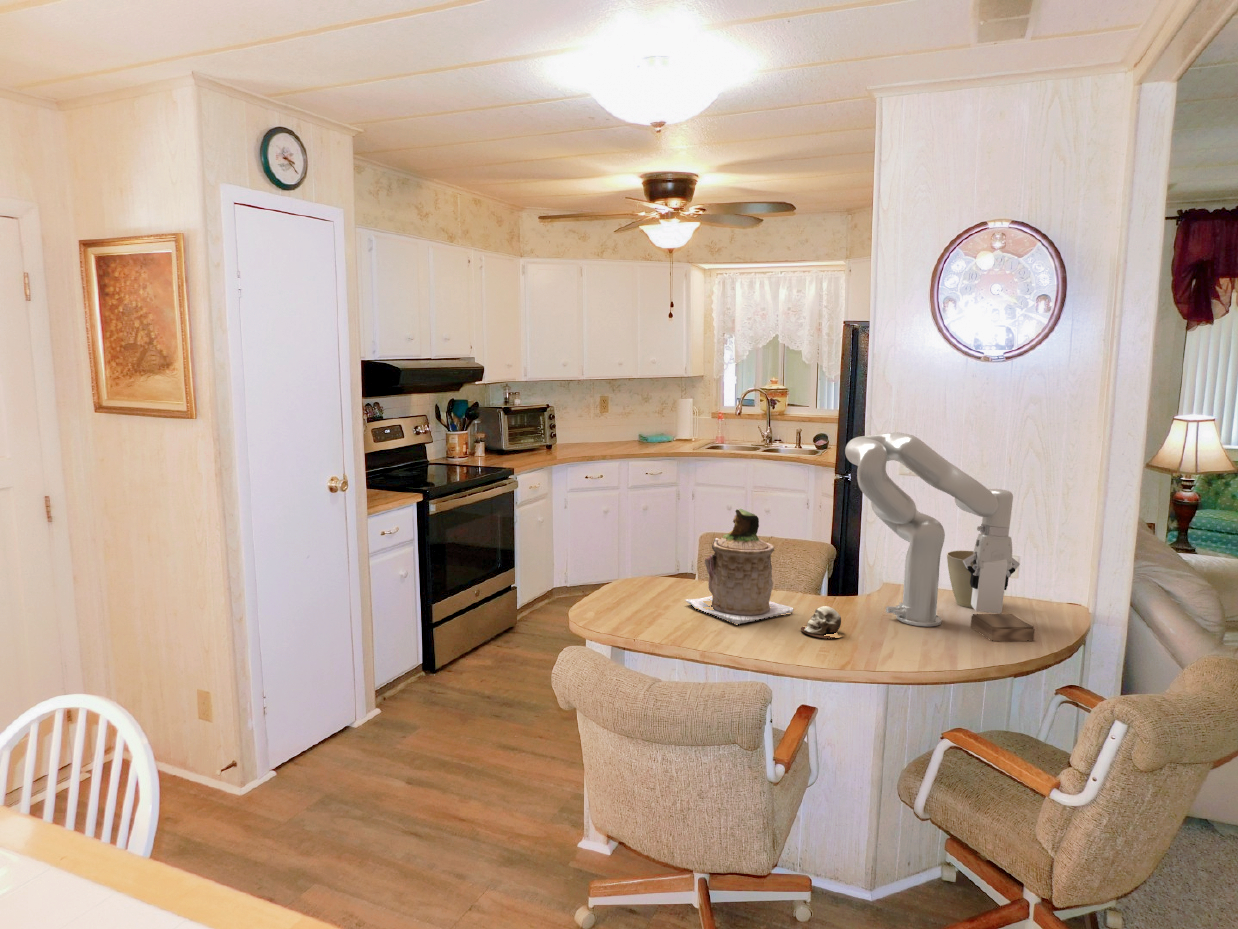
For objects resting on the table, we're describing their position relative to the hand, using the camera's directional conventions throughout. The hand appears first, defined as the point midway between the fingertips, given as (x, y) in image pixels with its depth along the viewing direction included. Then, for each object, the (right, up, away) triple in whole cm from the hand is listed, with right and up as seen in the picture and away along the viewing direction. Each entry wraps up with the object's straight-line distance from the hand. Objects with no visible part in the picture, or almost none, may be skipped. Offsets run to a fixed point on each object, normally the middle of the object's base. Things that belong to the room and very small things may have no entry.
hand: (988, 588), depth 246 cm
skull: (-53, -11, -13) cm, 56 cm away
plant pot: (+1, -8, +16) cm, 18 cm away
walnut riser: (-1, -11, -12) cm, 16 cm away
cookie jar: (-73, -8, +7) cm, 74 cm away
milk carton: (0, -7, +1) cm, 7 cm away
